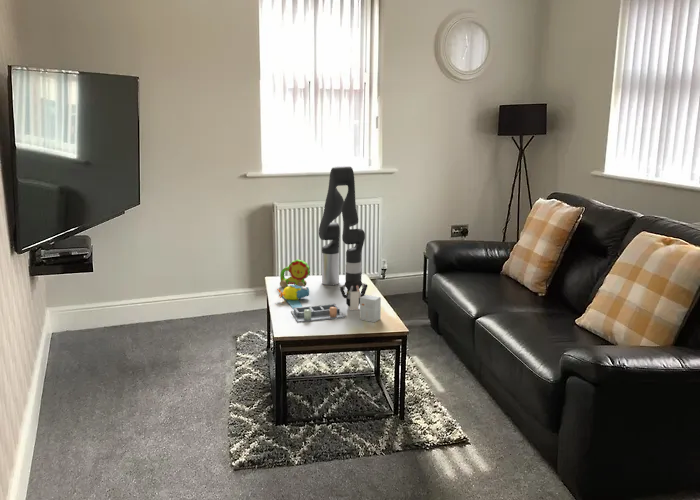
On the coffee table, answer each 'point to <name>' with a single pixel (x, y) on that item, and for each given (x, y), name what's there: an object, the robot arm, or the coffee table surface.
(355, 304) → the plug
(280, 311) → the coffee table surface
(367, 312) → the small box
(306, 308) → the grey compartment tray
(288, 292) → the blue yellow plastic figure
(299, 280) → the toy lion
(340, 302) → the coffee table surface
